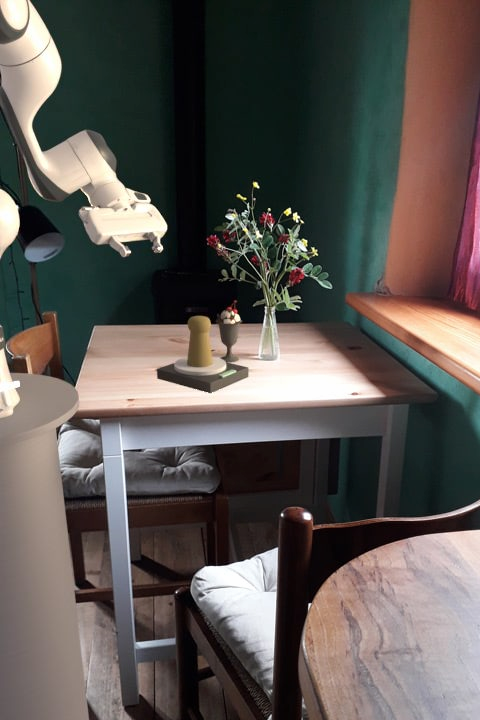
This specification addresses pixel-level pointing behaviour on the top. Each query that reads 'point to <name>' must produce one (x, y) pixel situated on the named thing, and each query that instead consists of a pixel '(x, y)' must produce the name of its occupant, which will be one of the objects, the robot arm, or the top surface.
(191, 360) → the cork
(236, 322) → the sundae
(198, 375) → the scale
